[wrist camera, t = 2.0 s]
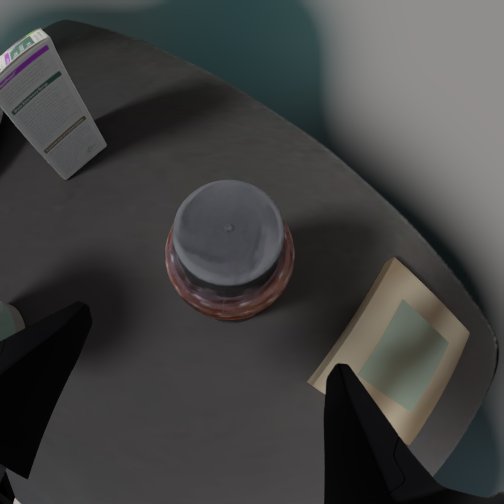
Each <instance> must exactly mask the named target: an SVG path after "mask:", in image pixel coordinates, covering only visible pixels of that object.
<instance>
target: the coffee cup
mask: <svg viewBox="0 0 504 504" xmlns="http://www.w3.org/2000/svg"><path fill="white" fill-rule="evenodd" d="M24 328H25V324H24V321H23V318H22V316H21V314H20V313H19V311H18V310H17V309H16V308H15V307H14V306H12V305H9V304H7V303H5V302H2V301H0V341H1V340H3V339H6V338H7V337H9V336H11V335H13V334H15V333H17V332H18V331H20V330H22V329H24Z"/></svg>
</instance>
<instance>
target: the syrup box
mask: <svg viewBox="0 0 504 504" xmlns="http://www.w3.org/2000/svg"><path fill="white" fill-rule="evenodd" d="M0 107H1V108H2V109H3V110H4V112H5V113H6V114H7V116H8V117H9V118H10V119H11V121H12V122H13V123H14V124H15V126H16V127H17V128H18V129H19V130H20V132H21V133H22V134H23V135H24V136H25V138H26V139H27V140H28V141H29V142H30V143H31V144H32V145H33V147H34V148H35V149H36V150H37V151H38V152H39V153H40V154H41V155H42V156H43V158H44V159H45V160H46V161H47V162H48V163H49V164H50V165H51V166H52V167H53V168H54V169H55V170H56V172H57V173H58V174H59V175H60V176H61V177H62V178H63V179H64V180H67V179H68V178H70V177H71V176H72V175H73V174H74V173H76V172H77V171H78V170H79V169H80V168H81V167H83V166H84V165H85V164H86V163H87V162H88V161H89V160H91V159H92V158H93V157H94V156H95V155H97V154H98V153H99V152H100V151H101V150H103V149H104V148H105V147H106V146H107V145H106V142H105V140H104V138H103V137H102V135H101V133H100V131H99V130H98V128H97V126H96V124H95V122H94V121H93V119H92V117H91V115H90V113H89V112H88V110H87V108H86V106H85V104H84V103H83V101H82V99H81V97H80V95H79V93H78V92H77V90H76V88H75V86H74V84H73V82H72V81H71V79H70V77H69V75H68V73H67V71H66V69H65V67H64V65H63V63H62V61H61V59H60V57H59V55H58V53H57V51H56V49H55V47H54V45H53V42H52V40H51V38H50V37H49V36H48V35H47V34H46V33H45V32H44V31H43V30H41V28H38V29H36V30H34V31H32V32H31V33H29V34H28V35H26V36H25V37H23V38H22V39H21V40H19V41H18V42H16V43H15V44H14V45H13V46H11V47H10V48H9V49H8V50H7V51H6V52H5V53H4V54H3V55H1V56H0Z"/></svg>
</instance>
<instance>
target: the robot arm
mask: <svg viewBox="0 0 504 504" xmlns="http://www.w3.org/2000/svg"><path fill="white" fill-rule="evenodd" d="M91 326H92V317H91V313H90V309H89V306H88V305H87V304H86V303H83V302H80V301H78V302H76V303H73V304H71V305H69V306H67V307H65V308H63V309H61V310H59V311H57V312H55V313H53V314H51V315H49V316H48V317H46V318H44V319H42V320H40V321H38V322H36V323H34V324H32V325H30V326H28V327H26V328H24V329H22V330H20V331H18V332H17V333H15V334H13V335H11V336H9V337H7V338H6V339H3V340H1V341H0V504H13V502H14V499H15V495H14V493H13V490H12V487H11V485H10V482H9V479H8V476H7V473H6V468H8V469H9V470H11V471H13V472H15V473H16V474H18V475H20V476H22V477H24V478H26V479H28V477H29V474H30V471H31V468H32V465H33V462H34V459H35V456H36V453H37V450H38V448H39V445H40V442H41V439H42V437H43V434H44V431H45V429H46V426H47V424H48V422H49V419H50V417H51V414H52V412H53V410H54V408H55V405H56V403H57V401H58V399H59V396H60V394H61V392H62V390H63V388H64V386H65V384H66V382H67V380H68V378H69V375H70V373H71V371H72V370H73V368H74V366H75V364H76V362H77V360H78V357H79V355H80V353H81V350H82V348H83V345H84V343H85V340H86V338H87V335H88V333H89V331H90V328H91ZM324 450H325V491H324V504H504V492H503V491H501V492H498V493H496V494H494V495H492V496H490V497H488V498H486V497H479V496H475V495H471V494H467V493H462V492H459V491H455V490H452V489H448V488H446V487H444V486H442V485H440V484H439V483H438V482H437V481H436V480H435V479H434V478H433V477H432V476H431V475H430V473H429V472H428V471H427V470H426V469H425V468H424V467H423V466H422V464H421V463H420V462H419V461H418V460H417V459H416V457H415V456H414V455H413V454H412V453H411V451H410V450H409V449H408V447H407V446H406V444H405V443H404V442H403V440H402V439H401V437H400V436H399V435H398V433H397V432H396V430H395V429H394V428H393V426H392V425H391V423H390V422H389V421H388V419H387V418H386V416H385V415H384V413H383V412H382V411H381V409H380V408H379V406H378V405H377V404H376V402H375V401H374V399H373V398H372V397H371V395H370V394H369V392H368V391H367V390H366V388H365V387H364V385H363V384H362V383H361V381H360V380H359V379H358V377H357V376H356V374H355V373H354V372H353V370H352V369H351V367H350V366H349V365H348V364H343V363H337V364H336V365H335V366H334V368H333V369H332V371H331V372H330V373H329V375H328V377H327V380H326V393H325V407H324Z"/></svg>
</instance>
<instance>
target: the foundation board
mask: <svg viewBox="0 0 504 504" xmlns="http://www.w3.org/2000/svg"><path fill="white" fill-rule="evenodd" d="M469 334H470V332H469V331H468V330H467V329H466V328H465V327H464V326H463V325H462V323H461V322H460V321H459V320H458V319H457V318H456V317H455V316H454V315H453V314H452V313H451V312H450V311H449V310H448V308H447V307H446V306H445V305H444V304H443V303H442V302H441V301H440V300H439V299H438V298H437V297H436V296H435V295H434V294H433V293H432V292H431V291H430V290H429V289H428V288H427V287H426V286H425V285H424V284H423V283H422V282H421V281H420V280H419V279H418V278H417V277H415V276H414V275H413V274H412V273H411V272H410V271H409V270H408V269H407V268H406V267H405V266H404V265H403V264H402V263H400V262H399V261H398V260H397V259H396V258H395V257H394V258H392V259H390V260H388V261H386V262H385V264H384V266H383V267H382V269H381V271H380V273H379V275H378V276H377V278H376V280H375V282H374V283H373V285H372V287H371V288H370V290H369V292H368V293H367V295H366V297H365V298H364V300H363V302H362V303H361V305H360V307H359V308H358V310H357V311H356V313H355V314H354V316H353V318H352V319H351V321H350V322H349V324H348V325H347V327H346V328H345V330H344V331H343V333H342V334H341V336H340V337H339V339H338V340H337V342H336V343H335V344H334V346H333V347H332V349H331V350H330V352H329V353H328V354H327V356H326V357H325V358H324V360H323V361H322V363H321V364H320V365H319V367H318V368H317V369H316V371H315V372H314V373H313V375H312V376H311V377H310V378H309V380H308V381H307V382H308V383H309V384H310V385H312V386H313V387H315V388H316V389H318V390H319V391H321V392H322V393H324V394H325V393H326V380H327V377H328V375H329V373H330V372H331V371H332V369H333V368H334V366H335V365H336V364H337V363H343V364H348V365H349V366H350V367H351V369H352V370H353V372H354V373H355V374H356V376H357V377H358V379H359V380H360V381H361V383H362V384H363V385H364V387H365V388H366V390H367V391H368V392H369V394H370V395H371V397H372V398H373V399H374V401H375V402H376V404H377V405H378V406H379V408H380V409H381V411H382V412H383V413H384V415H385V416H386V418H387V419H388V421H389V422H390V423H391V425H392V426H393V428H394V429H395V430H396V432H397V433H398V435H399V436H400V437H401V439H402V440H403V442H404V443H406V444H407V445H410V444H411V443H412V441H413V440H414V438H415V437H416V435H417V434H418V433H419V431H420V430H421V428H422V427H423V425H424V423H425V422H426V420H427V419H428V417H429V415H430V414H431V412H432V411H433V409H434V407H435V405H436V404H437V402H438V400H439V398H440V397H441V395H442V393H443V391H444V389H445V387H446V385H447V384H448V382H449V380H450V378H451V376H452V374H453V372H454V369H455V367H456V365H457V363H458V361H459V359H460V356H461V354H462V352H463V349H464V347H465V344H466V342H467V339H468V337H469Z"/></svg>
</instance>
